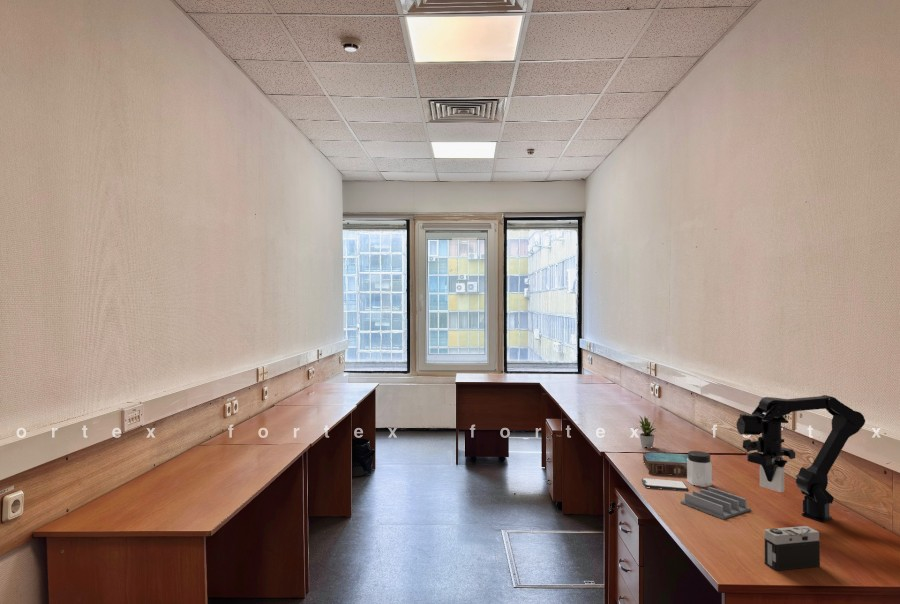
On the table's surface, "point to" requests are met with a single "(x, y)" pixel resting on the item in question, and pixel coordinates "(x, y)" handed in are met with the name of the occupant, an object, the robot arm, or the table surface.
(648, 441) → the house plant
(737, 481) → the table surface
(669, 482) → the phone case
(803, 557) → the camera
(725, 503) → the dish rack
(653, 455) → the brown teal box
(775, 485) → the white slab
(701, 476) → the jar
